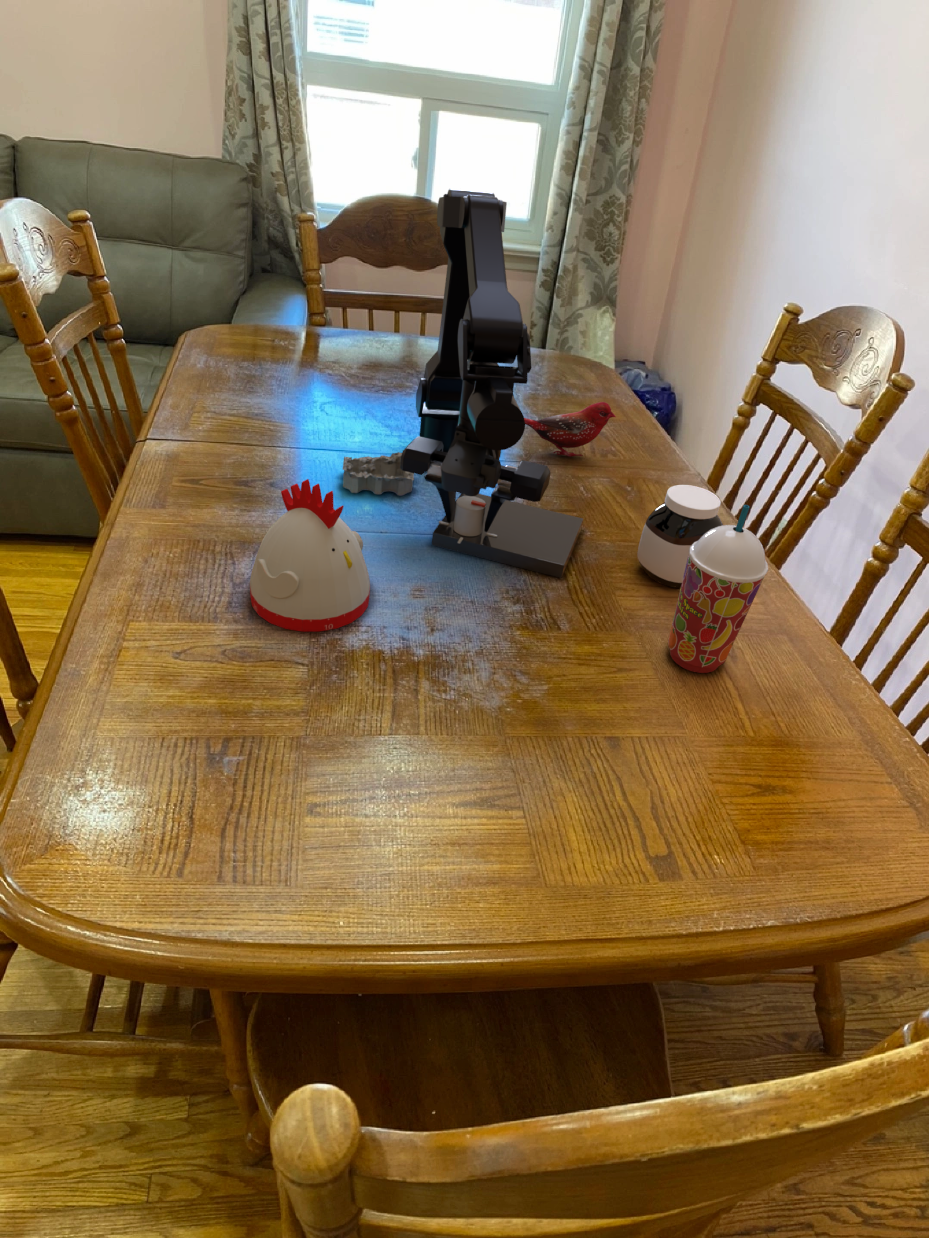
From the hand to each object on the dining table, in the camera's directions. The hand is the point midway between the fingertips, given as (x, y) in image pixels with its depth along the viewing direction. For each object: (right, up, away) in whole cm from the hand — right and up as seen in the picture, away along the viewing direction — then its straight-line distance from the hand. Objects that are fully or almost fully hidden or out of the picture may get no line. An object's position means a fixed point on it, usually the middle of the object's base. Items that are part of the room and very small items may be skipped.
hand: (468, 526), depth 110 cm
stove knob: (0, 0, 0) cm, 0 cm away
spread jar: (+27, -5, +2) cm, 28 cm away
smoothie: (+26, -17, -15) cm, 35 cm away
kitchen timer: (-19, -10, -13) cm, 25 cm away
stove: (+6, -1, +4) cm, 7 cm away
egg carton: (-13, +7, +13) cm, 20 cm away
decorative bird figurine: (+15, +15, +29) cm, 35 cm away
